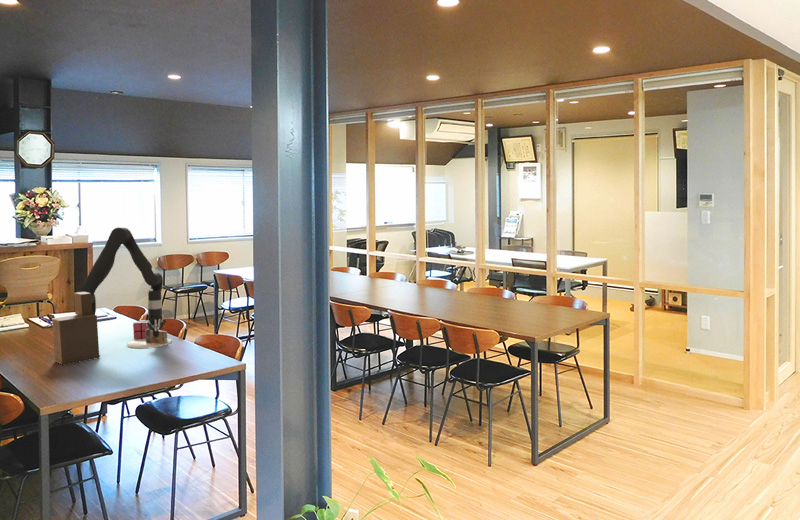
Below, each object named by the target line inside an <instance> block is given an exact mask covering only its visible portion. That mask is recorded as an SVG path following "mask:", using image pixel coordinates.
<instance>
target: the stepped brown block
mask: <svg viewBox="0 0 800 520" xmlns="http://www.w3.org/2000/svg"><path fill="white" fill-rule="evenodd" d="M73 299H74V300H73V301H74V314H75V315H68V316H60V317H55V318H54V317H53V318H52V334H53V336H52V337H53V349H54V362H55V363H56V362H57V364H58V363H59V364H58V365H60V364H61V366H63V365H62V364H66V365H69V364H68V363H71V364H74V363H73V362H76V363H80V362H79V361H81V362H85V361H84V360H87V361H90V360H89V359H92V360H95V359H94V358H97V359H100V358H99V357H101V355H100V350H99V349H100V348H99V345H100V343H99V329H98V315H96V314H95V315H93V314H92V300H91V293H88V292H78V291H77V292H73Z"/></svg>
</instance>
